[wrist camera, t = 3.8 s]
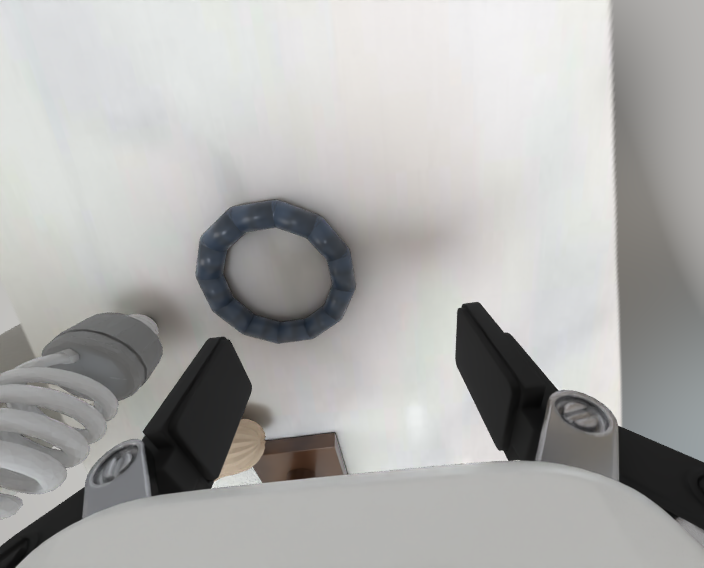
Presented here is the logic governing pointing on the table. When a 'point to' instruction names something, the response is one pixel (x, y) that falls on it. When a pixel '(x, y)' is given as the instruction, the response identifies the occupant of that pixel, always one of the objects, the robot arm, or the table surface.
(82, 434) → the light bulb
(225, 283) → the segmented blue ring
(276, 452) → the stand
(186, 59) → the table surface
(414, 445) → the table surface
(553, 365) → the table surface
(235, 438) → the figurine
